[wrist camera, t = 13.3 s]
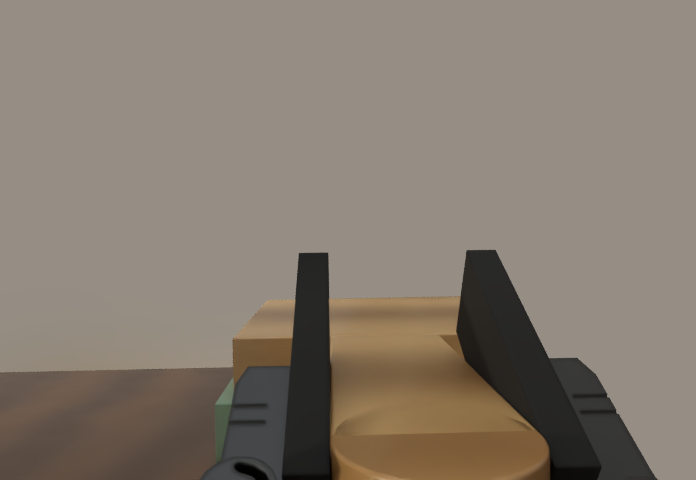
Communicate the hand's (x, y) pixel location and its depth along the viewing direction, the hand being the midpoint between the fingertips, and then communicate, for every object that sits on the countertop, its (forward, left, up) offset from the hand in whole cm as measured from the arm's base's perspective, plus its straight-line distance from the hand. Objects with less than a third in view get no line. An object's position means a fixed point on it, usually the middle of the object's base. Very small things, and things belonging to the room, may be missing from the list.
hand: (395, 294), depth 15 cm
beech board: (0, +3, -4) cm, 5 cm away
